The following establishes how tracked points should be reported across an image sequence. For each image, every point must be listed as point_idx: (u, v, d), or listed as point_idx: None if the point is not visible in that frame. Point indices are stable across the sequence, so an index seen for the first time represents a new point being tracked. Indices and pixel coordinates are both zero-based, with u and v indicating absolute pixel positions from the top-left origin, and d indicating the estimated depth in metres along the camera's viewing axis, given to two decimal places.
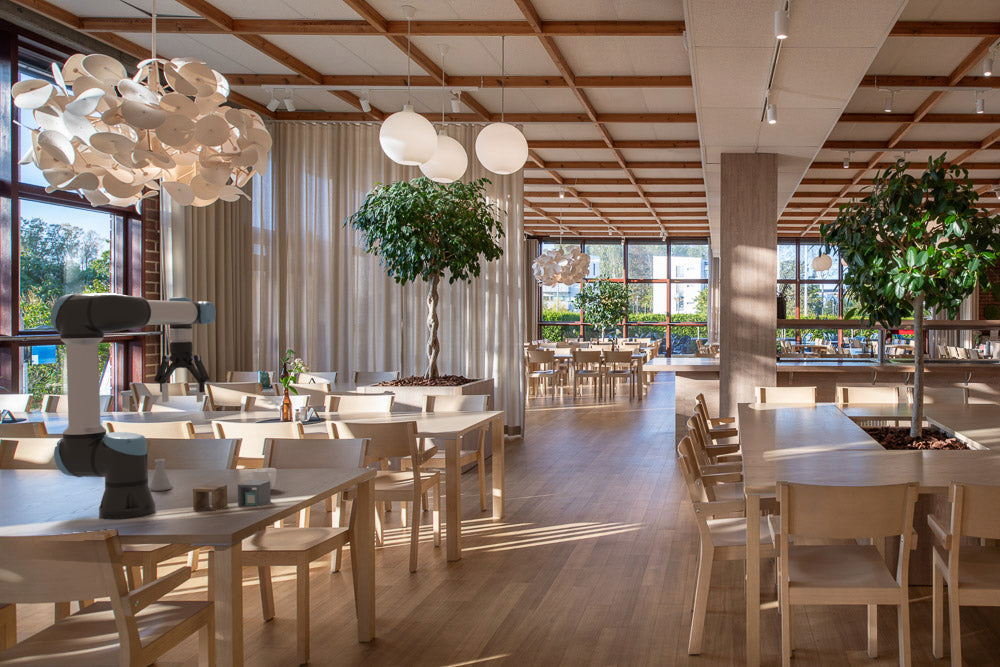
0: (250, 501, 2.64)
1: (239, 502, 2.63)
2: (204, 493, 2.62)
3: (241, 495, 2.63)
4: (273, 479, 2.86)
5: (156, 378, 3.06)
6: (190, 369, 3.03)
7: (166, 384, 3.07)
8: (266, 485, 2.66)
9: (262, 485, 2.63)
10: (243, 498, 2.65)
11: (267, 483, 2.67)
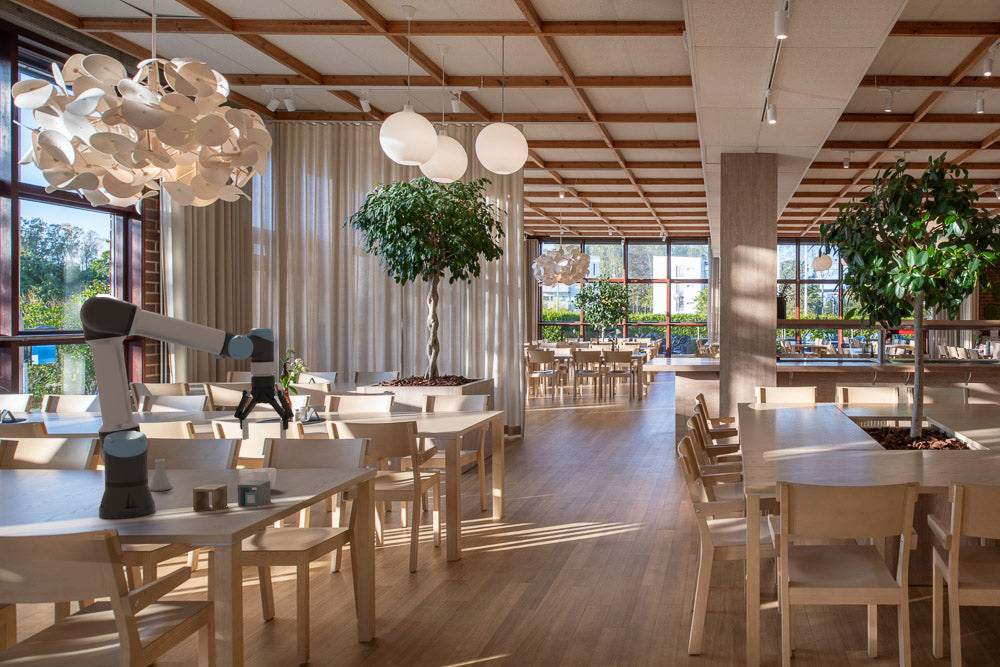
0: (250, 501, 2.64)
1: (239, 502, 2.63)
2: (204, 493, 2.62)
3: (241, 495, 2.63)
4: (273, 479, 2.86)
5: (236, 414, 2.87)
6: (273, 405, 2.84)
7: (246, 420, 2.88)
8: (266, 485, 2.66)
9: (262, 485, 2.63)
10: (243, 498, 2.65)
11: (267, 483, 2.67)
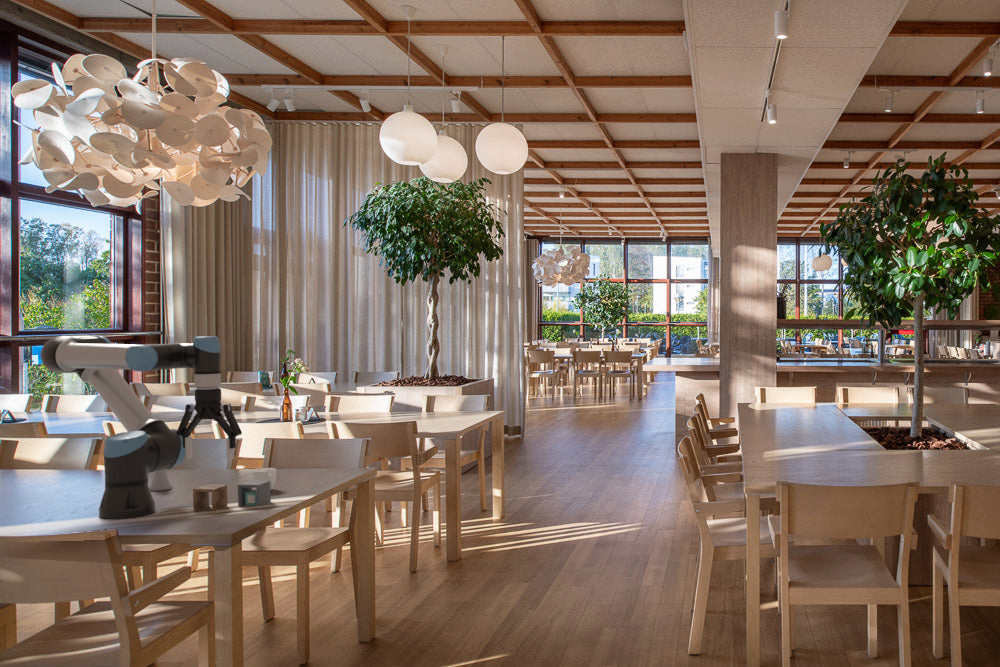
0: (250, 501, 2.64)
1: (239, 502, 2.63)
2: (204, 493, 2.62)
3: (241, 495, 2.63)
4: (273, 479, 2.86)
5: (178, 431, 2.61)
6: (219, 421, 2.58)
7: (190, 438, 2.62)
8: (266, 485, 2.66)
9: (262, 485, 2.63)
10: (243, 498, 2.65)
11: (267, 483, 2.67)
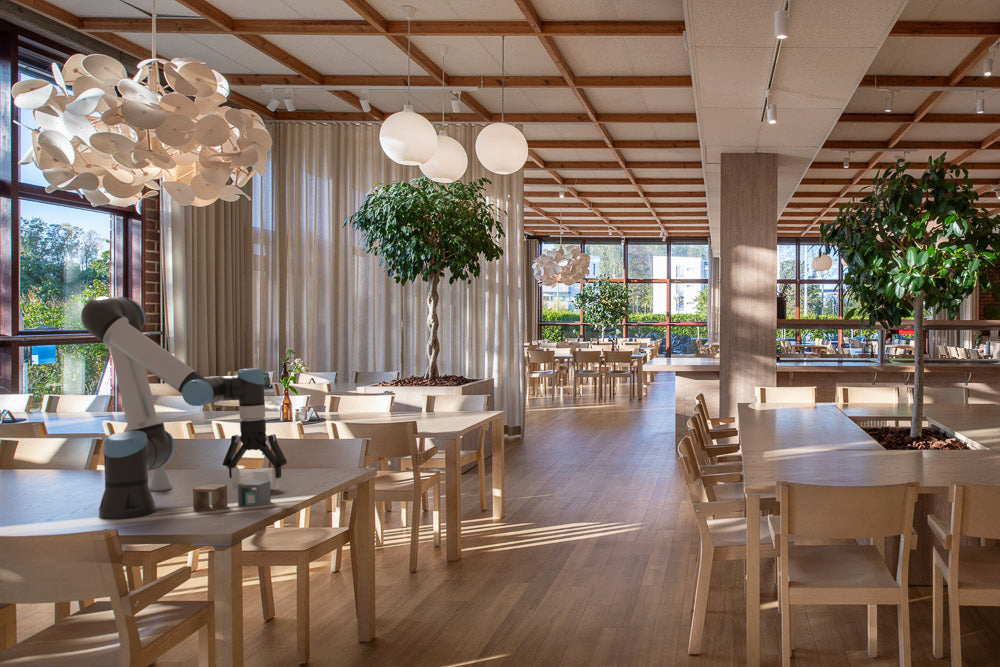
0: (250, 501, 2.64)
1: (239, 502, 2.63)
2: (204, 493, 2.62)
3: (241, 495, 2.63)
4: None
5: (225, 462, 2.66)
6: (264, 451, 2.63)
7: (236, 468, 2.67)
8: (266, 485, 2.66)
9: (262, 485, 2.63)
10: (243, 498, 2.65)
11: (267, 483, 2.67)
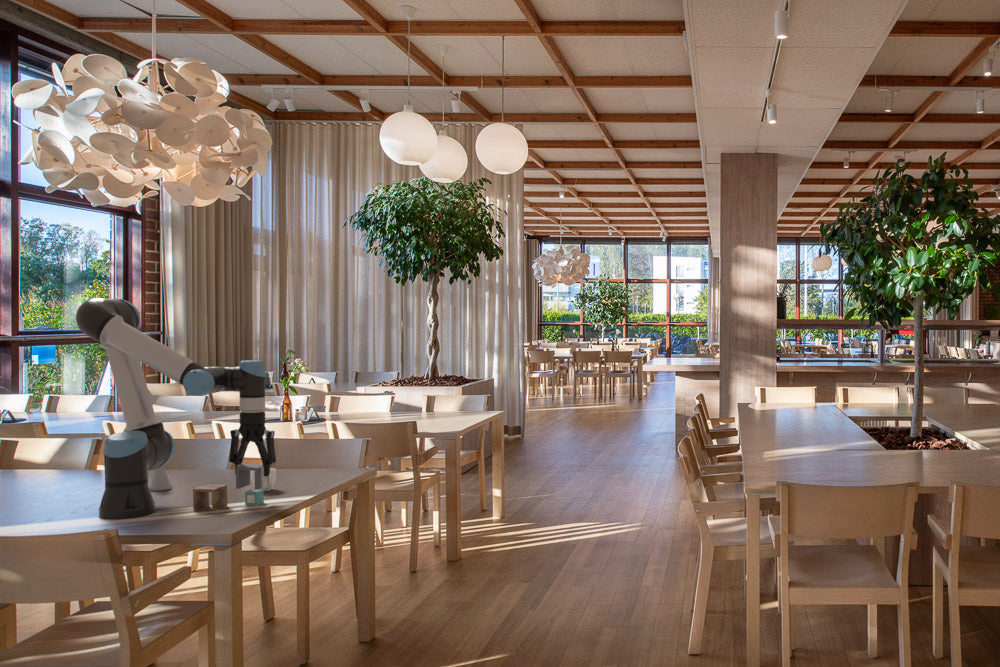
0: (250, 501, 2.64)
1: (237, 485, 2.63)
2: (204, 493, 2.62)
3: (239, 478, 2.63)
4: (273, 479, 2.86)
5: (231, 458, 2.66)
6: (259, 446, 2.64)
7: None
8: None
9: (260, 468, 2.63)
10: (241, 481, 2.65)
11: None
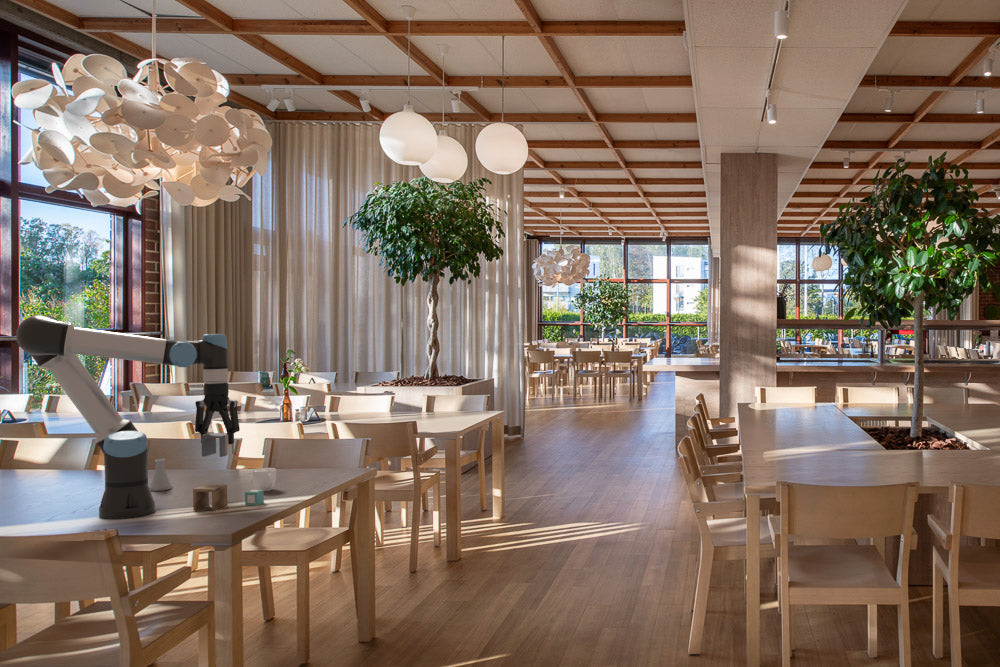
0: (250, 501, 2.64)
1: (203, 453, 2.74)
2: (204, 493, 2.62)
3: (205, 446, 2.75)
4: (273, 479, 2.86)
5: (196, 428, 2.77)
6: (223, 416, 2.75)
7: None
8: None
9: None
10: (207, 449, 2.76)
11: None
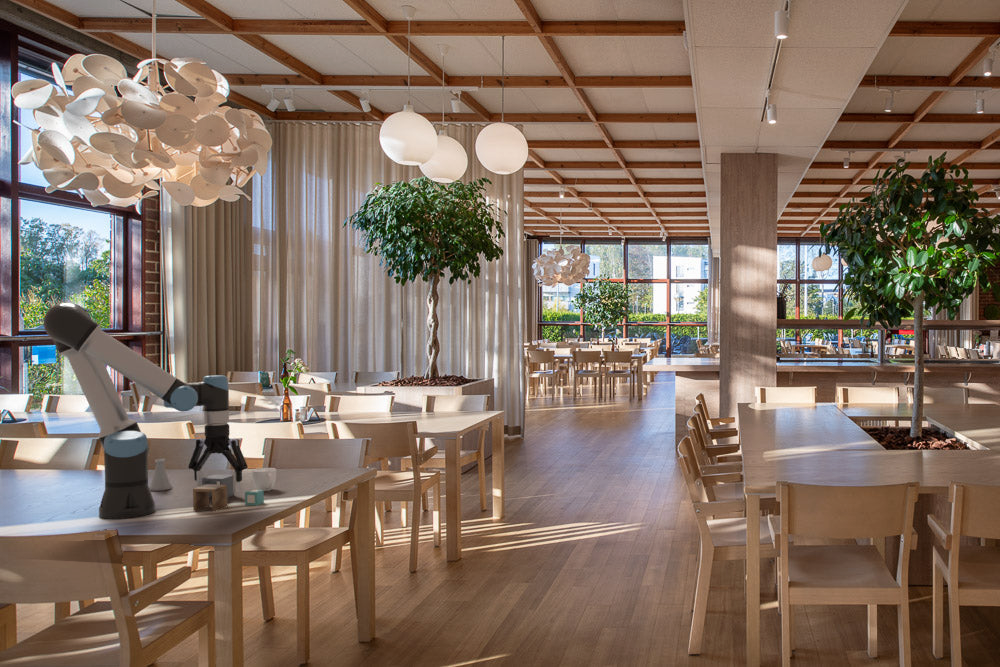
0: (250, 501, 2.64)
1: None
2: (204, 493, 2.62)
3: None
4: (273, 479, 2.86)
5: (190, 465, 2.78)
6: (227, 455, 2.75)
7: (201, 471, 2.79)
8: (230, 479, 2.78)
9: (225, 479, 2.75)
10: None
11: (231, 477, 2.78)
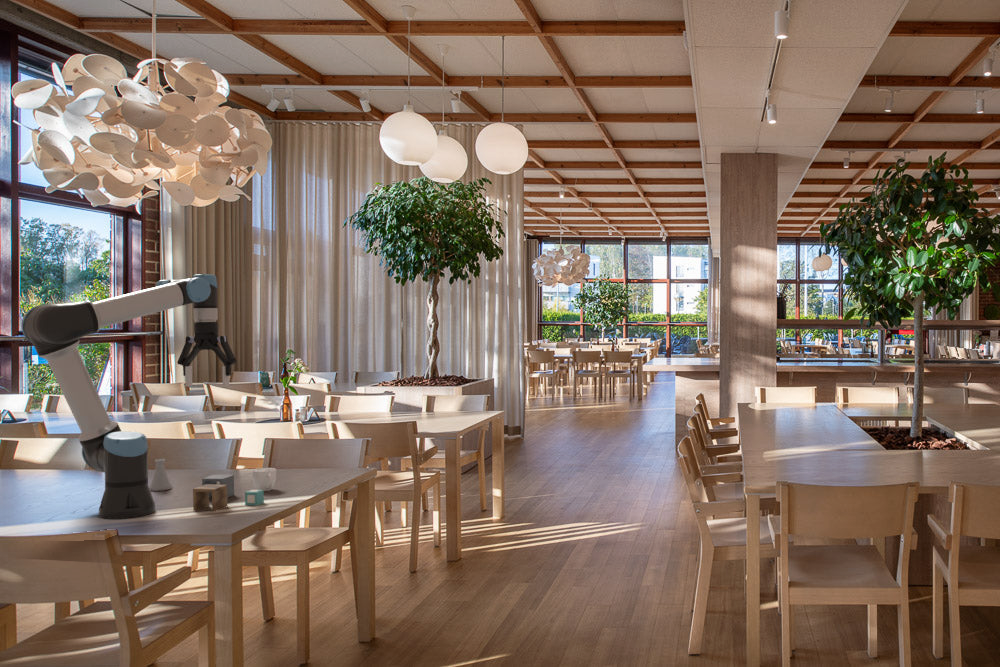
0: (250, 501, 2.64)
1: None
2: (204, 493, 2.62)
3: None
4: (273, 479, 2.86)
5: (179, 361, 2.87)
6: (216, 351, 2.84)
7: (190, 367, 2.88)
8: (230, 479, 2.78)
9: (225, 479, 2.75)
10: None
11: (231, 477, 2.78)
